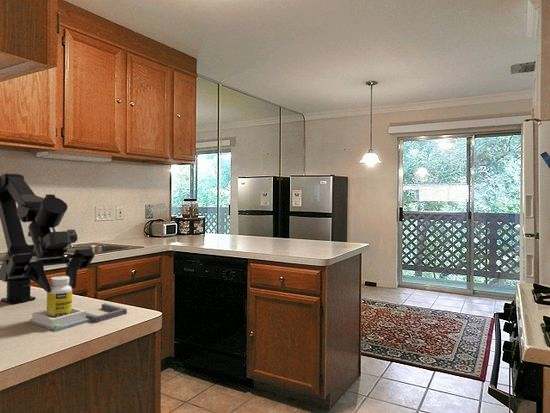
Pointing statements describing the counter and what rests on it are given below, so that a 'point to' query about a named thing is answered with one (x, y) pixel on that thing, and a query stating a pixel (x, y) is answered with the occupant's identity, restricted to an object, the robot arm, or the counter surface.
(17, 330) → the counter surface
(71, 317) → the panel
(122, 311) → the holster cradle
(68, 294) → the supplement bottle
